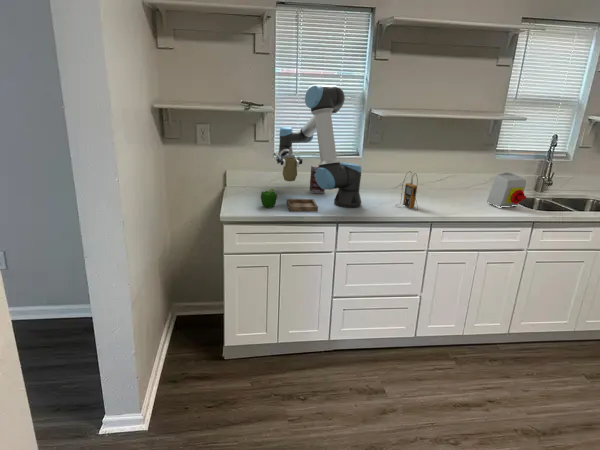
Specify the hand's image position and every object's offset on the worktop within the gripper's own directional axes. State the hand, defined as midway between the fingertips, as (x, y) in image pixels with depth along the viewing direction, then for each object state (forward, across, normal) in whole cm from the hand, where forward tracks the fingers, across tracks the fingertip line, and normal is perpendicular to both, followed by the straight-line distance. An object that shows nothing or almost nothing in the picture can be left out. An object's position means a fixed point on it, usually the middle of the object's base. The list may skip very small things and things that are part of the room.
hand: (291, 164), depth 222 cm
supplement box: (-27, -20, -22) cm, 41 cm away
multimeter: (+3, -63, -23) cm, 67 cm away
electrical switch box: (+1, -128, -23) cm, 130 cm away
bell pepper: (+5, +12, -22) cm, 26 cm away
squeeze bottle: (-5, 0, -10) cm, 11 cm away
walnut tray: (+5, -6, -22) cm, 24 cm away
